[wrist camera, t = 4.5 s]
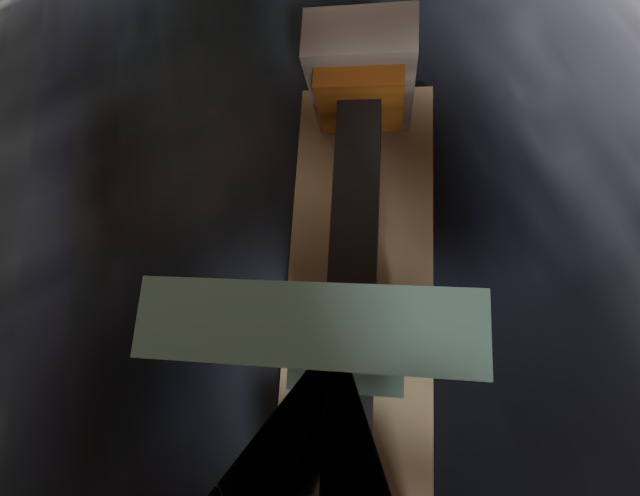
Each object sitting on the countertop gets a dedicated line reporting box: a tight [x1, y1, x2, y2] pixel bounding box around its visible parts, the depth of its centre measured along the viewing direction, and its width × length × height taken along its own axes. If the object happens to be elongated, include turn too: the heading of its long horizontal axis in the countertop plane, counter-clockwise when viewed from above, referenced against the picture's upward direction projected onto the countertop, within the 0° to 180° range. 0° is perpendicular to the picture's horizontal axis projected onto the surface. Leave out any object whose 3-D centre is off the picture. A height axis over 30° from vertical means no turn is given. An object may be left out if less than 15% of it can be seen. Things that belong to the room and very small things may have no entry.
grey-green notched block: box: [130, 276, 493, 398], centre depth 11 cm, size 3×5×10 cm, turn 86°
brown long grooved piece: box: [278, 0, 433, 496], centre depth 16 cm, size 20×6×6 cm, turn 177°
